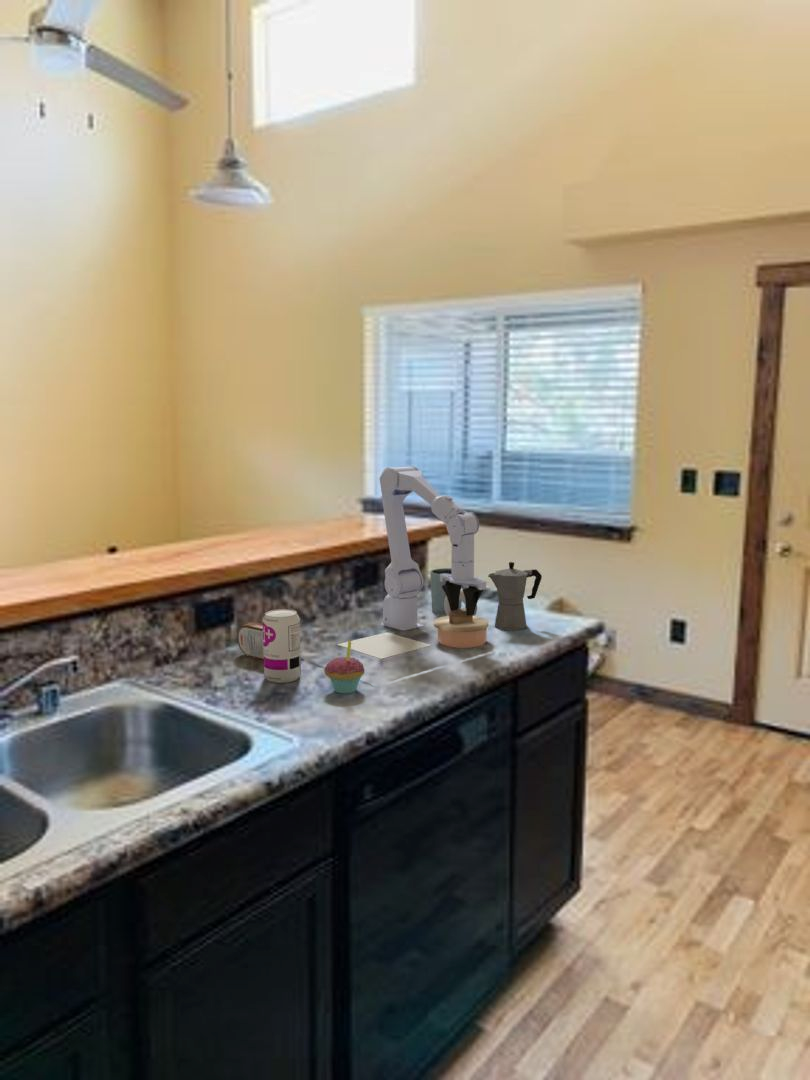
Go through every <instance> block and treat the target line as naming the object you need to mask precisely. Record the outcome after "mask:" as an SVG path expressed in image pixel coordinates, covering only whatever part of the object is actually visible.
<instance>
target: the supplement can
mask: <svg viewBox="0 0 810 1080" xmlns="http://www.w3.org/2000/svg"><path fill="white" fill-rule="evenodd" d="M300 621H301V620H300V617H299V615H298V611H296V610H293V609H272V610H269V611H267V612H265V613H264V617H262V624H263V651H264V660H263V673H264V675H263V677H264V678H265V679H266V681H269V682H271V683H276V684H286V683H292V682H294V681H297V680H298V679H299V678H300V676H301V675H302V668H301V663H302V662H301V659H302V658H301V625H300V624H301V623H300Z"/></svg>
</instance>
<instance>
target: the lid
mask: <svg viewBox="0 0 810 1080" xmlns="http://www.w3.org/2000/svg"><path fill="white" fill-rule="evenodd" d="M433 627H434V628H436V629H437V630H438V629H441V630H445V631H452V632H473V631H479V630H483V629H486V630H487V628H488V627H489V620H488V619H486V618H483V617H480V616H476V615H475V616H473V615H470V616H467V614H466V608H465V607H464V608H461V609H458V610H454V611H449V616H447V615H444V616H440V617H437V618H434V620H433Z"/></svg>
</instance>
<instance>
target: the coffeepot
mask: <svg viewBox="0 0 810 1080" xmlns="http://www.w3.org/2000/svg"><path fill="white" fill-rule="evenodd" d="M508 566H509V567H508V568H506V569H500V570H496V571H495V572H492V573H489V574H488V575H487V576H488V578H490V579H491V581H492V582H493V585H494V586H495V588H496V592H497V597H498V603H497V610H496V616H495V623H494V628H496V627H497V628H496V629H500V630H503V631H520V630H524V629H527V620H526V619H527V618H526V612H525V605H524V604H525V603H524V597H525V592H526V585H527V579H528V578H531V577H535V578H534V582H533V586H532V589H531V594H530V595H527V599H528V600H533V599H535V598H536V595H537V592H538V589H539V587H540V583H541V581H542V577H543V575H542V574H541V572H540V571H539V570H537V569H525V570H520V569H517V568H514V566H515V562H513V561H510V562H508Z"/></svg>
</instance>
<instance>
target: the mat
mask: <svg viewBox="0 0 810 1080" xmlns="http://www.w3.org/2000/svg"><path fill="white" fill-rule="evenodd" d="M337 646H340V647H343V648H346V649H348V641H346V642H342V643H337ZM427 647H432V644H429V643H425V642H423V641H419V640H414V639H412V638H407V637H405V636H401V635H399V634H394V633H391V632H387V631H385V632H384V633H383V632H381V633H378V634H374V635H370V636H366V637H361V638H357V639H354V640H351V651H356V652H358V653H361V654H365V655H367V656H371V657H374V658H377V659H380V660H382V659H385V658H387V659H388V658H390V657H394V656H397V655H400V654H406V653H408V652H412V651H416V650H420V649H425V648H427Z"/></svg>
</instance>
